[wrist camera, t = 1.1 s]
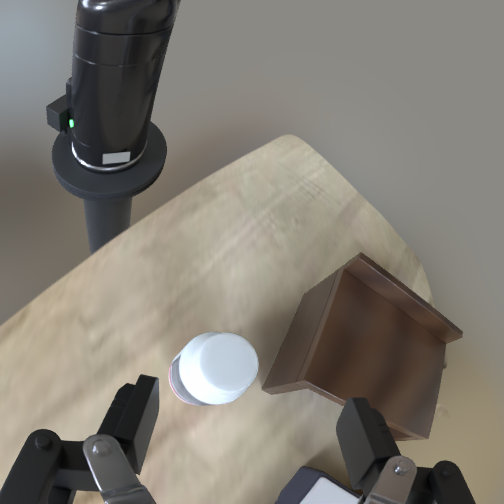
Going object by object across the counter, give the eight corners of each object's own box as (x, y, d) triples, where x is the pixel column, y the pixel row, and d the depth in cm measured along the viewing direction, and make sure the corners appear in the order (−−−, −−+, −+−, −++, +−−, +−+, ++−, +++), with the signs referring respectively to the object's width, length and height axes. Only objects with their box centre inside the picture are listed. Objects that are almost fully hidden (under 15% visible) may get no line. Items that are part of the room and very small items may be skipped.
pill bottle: (211, 415, 26) (251, 417, 18) (157, 388, 25) (171, 379, 17) (234, 364, 29) (279, 343, 21) (183, 338, 28) (209, 306, 20)
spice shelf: (261, 389, 28) (320, 376, 20) (303, 294, 35) (360, 251, 27) (376, 441, 29) (447, 437, 21) (399, 355, 36) (462, 331, 28)
